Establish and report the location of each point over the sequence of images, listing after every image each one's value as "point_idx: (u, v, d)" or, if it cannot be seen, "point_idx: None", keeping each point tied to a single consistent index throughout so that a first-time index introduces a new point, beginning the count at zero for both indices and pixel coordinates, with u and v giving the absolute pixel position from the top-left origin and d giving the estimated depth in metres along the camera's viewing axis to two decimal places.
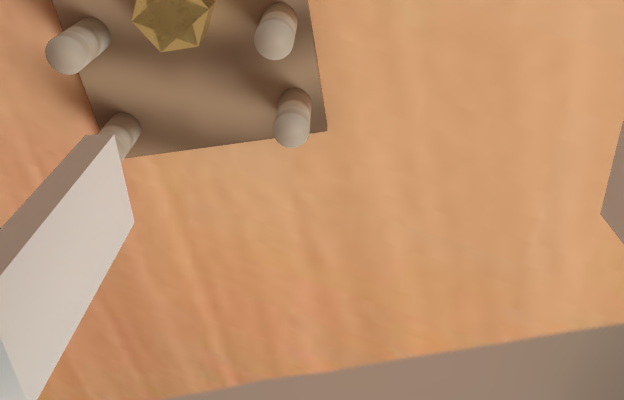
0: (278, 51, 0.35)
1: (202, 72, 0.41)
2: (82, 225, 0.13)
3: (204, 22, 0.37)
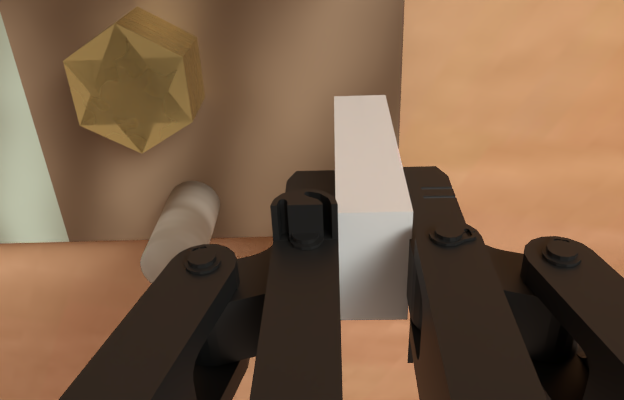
0: None
1: (261, 57, 0.24)
2: None
3: (140, 36, 0.21)
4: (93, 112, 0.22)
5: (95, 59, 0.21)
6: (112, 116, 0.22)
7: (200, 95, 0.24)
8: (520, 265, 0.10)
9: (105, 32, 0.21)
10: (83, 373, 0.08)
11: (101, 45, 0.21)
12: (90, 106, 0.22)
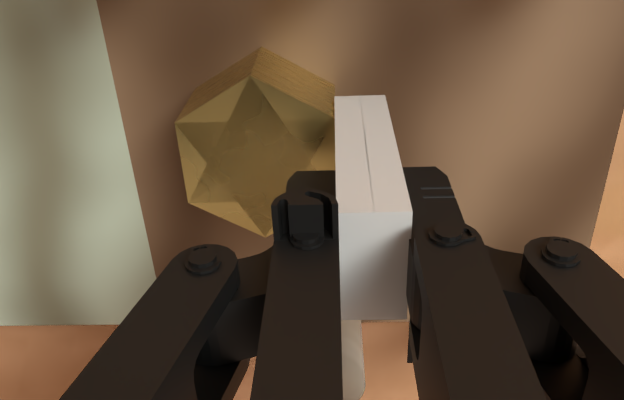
0: None
1: (438, 109, 0.18)
2: None
3: (281, 92, 0.15)
4: (208, 186, 0.17)
5: (217, 121, 0.16)
6: (232, 192, 0.17)
7: None
8: (519, 265, 0.10)
9: (235, 86, 0.15)
10: (84, 373, 0.08)
11: (228, 103, 0.16)
12: (204, 179, 0.17)
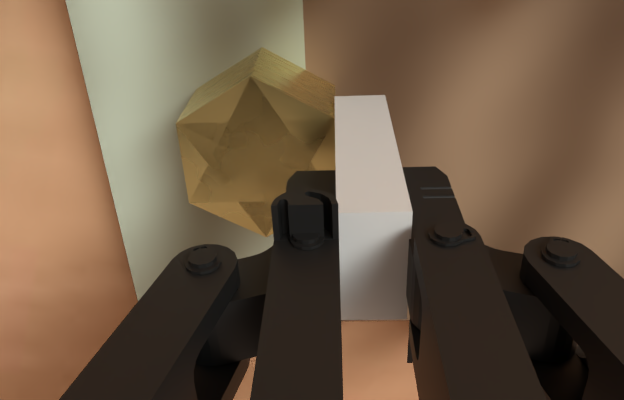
0: None
1: None
2: None
3: (281, 92, 0.15)
4: (208, 186, 0.17)
5: (218, 121, 0.16)
6: (233, 192, 0.17)
7: None
8: (520, 265, 0.10)
9: (236, 87, 0.15)
10: (84, 373, 0.08)
11: (229, 104, 0.16)
12: (205, 179, 0.17)
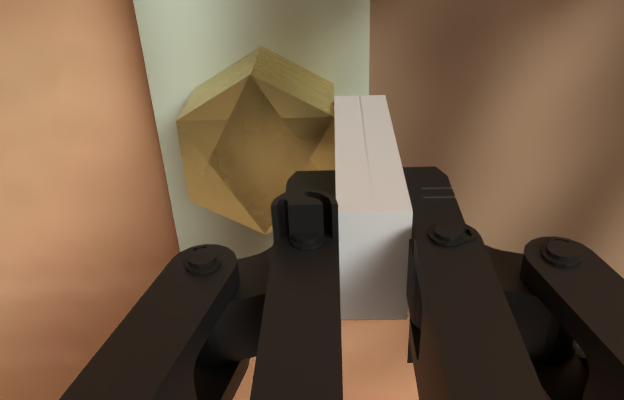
0: None
1: None
2: None
3: (281, 90, 0.16)
4: (208, 184, 0.17)
5: (217, 119, 0.16)
6: (232, 189, 0.17)
7: None
8: (520, 265, 0.10)
9: (235, 85, 0.15)
10: (83, 373, 0.08)
11: (228, 102, 0.16)
12: (205, 177, 0.17)
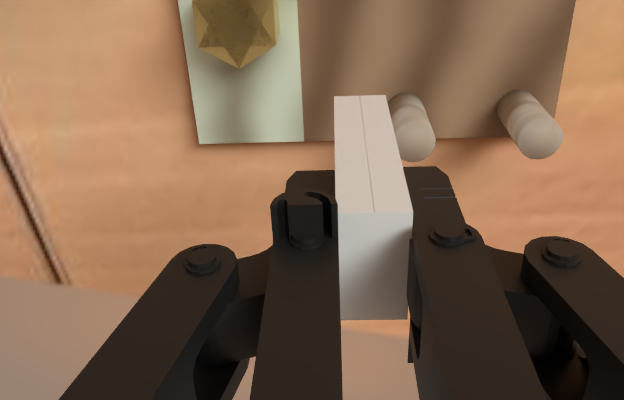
0: None
1: None
2: None
3: None
4: (208, 37, 0.32)
5: None
6: (221, 41, 0.32)
7: (278, 30, 0.34)
8: (520, 265, 0.10)
9: None
10: (83, 373, 0.08)
11: None
12: (206, 33, 0.32)
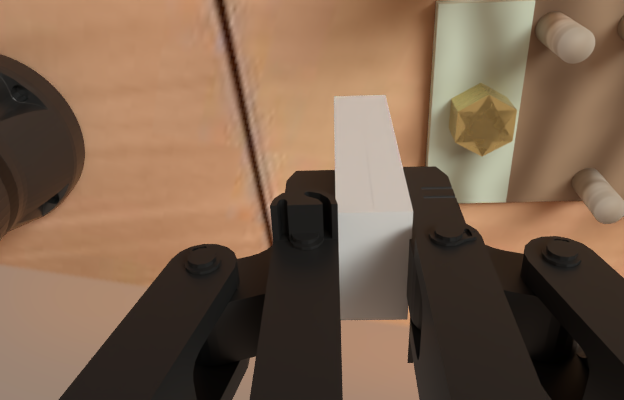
0: None
1: None
2: None
3: (498, 100, 0.43)
4: (464, 136, 0.45)
5: (473, 111, 0.44)
6: (473, 138, 0.45)
7: None
8: (520, 265, 0.10)
9: (483, 98, 0.43)
10: (83, 373, 0.08)
11: (479, 104, 0.43)
12: (463, 133, 0.44)
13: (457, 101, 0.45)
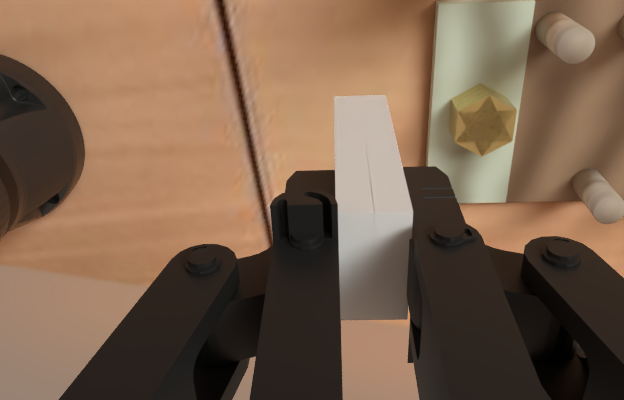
0: None
1: None
2: None
3: (498, 100, 0.43)
4: (464, 136, 0.45)
5: (473, 111, 0.44)
6: (473, 138, 0.45)
7: None
8: (520, 265, 0.10)
9: (483, 99, 0.43)
10: (83, 373, 0.08)
11: (479, 104, 0.43)
12: (463, 133, 0.45)
13: (457, 101, 0.45)
